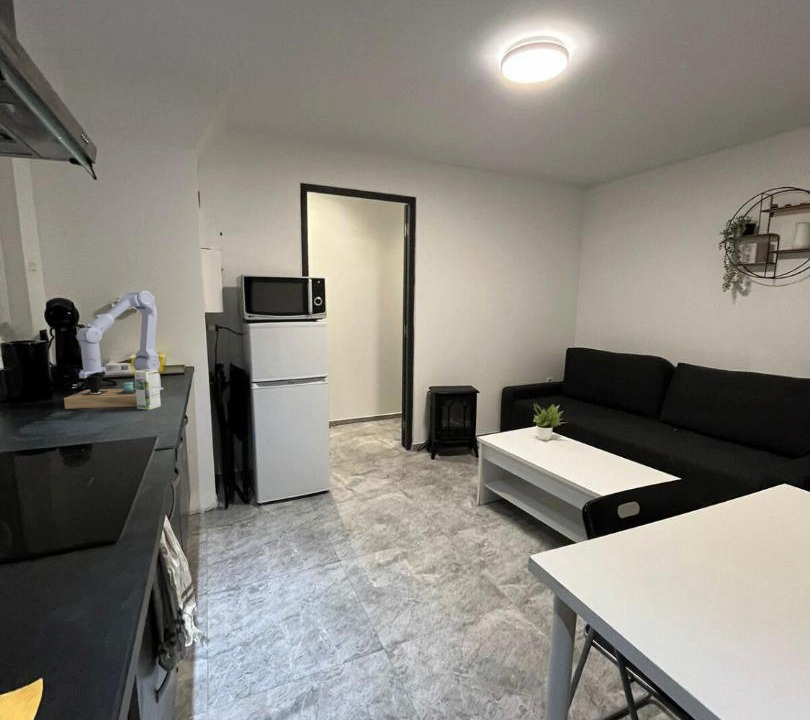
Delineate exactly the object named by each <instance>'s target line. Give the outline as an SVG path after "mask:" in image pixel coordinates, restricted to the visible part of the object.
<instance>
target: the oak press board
mask: <svg viewBox="0 0 810 720" xmlns="http://www.w3.org/2000/svg"><path fill="white" fill-rule="evenodd" d="M133 389H134V392H129V393H124V388H115V389H114V388H112V389H110V388H108V389H106V388H105V389H100V390H99V392H100V393H96V394H90V393H91V391H90V389H84V390H81V391H79V392H77V393H74V394H72V395H69V396H67V397H64V398H63V400H64V401H63V402H64V408H65V409H67V410H68V409H70V410H71V409H90V408H91V409H96V408H121V407H122V408H124V407H137V398H136V388H133Z"/></svg>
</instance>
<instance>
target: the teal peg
mask: <svg viewBox="0 0 810 720" xmlns="http://www.w3.org/2000/svg"><path fill="white" fill-rule="evenodd" d="M122 385H123V389H124V393H129V392H134V389H135V388H134V381H125V382H123V383H122Z"/></svg>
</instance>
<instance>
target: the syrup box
mask: <svg viewBox="0 0 810 720" xmlns="http://www.w3.org/2000/svg"><path fill="white" fill-rule="evenodd" d="M133 373H134V384H135V389H136V398H137V406H136V409H137V410H146V411H150V410H153V409H156V408H160V407H161V406H162V404H161V403H162V402H161V390H160V388H159V375H158V373H159V369H158V370H148V369H144V370H138V371H137V370H135V371H134V372H133Z"/></svg>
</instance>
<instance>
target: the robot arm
mask: <svg viewBox="0 0 810 720" xmlns="http://www.w3.org/2000/svg"><path fill="white" fill-rule="evenodd" d="M155 299H156V297H155V296H154V295H153V294H152V293H151V292H149V291H147V290H143V291H142V290H141V291H140V290H137V291H135V290H130V291H127V292H126V293H125V294H124V295H122V296H121V298H120V299H119V300H118V301H117V302H116V303H115V305H114V306H112V307H111V308H110V309H109V310H108V311H107V312H106V313H100V314H97V315H95V318H94V319H92V321H90V322H89V323H87V324H86V325H85V326H86V327H82V328H80V329H79V330H78V331H77V333H76V335H75V338H76V340H77V341H78V342H79V344H80V345H79V346H80V350H81V351H80V353H81V360H82V368H83V369H80V370H79V372H78V376H79V377H78V378H79V379H82V380H84V381H85V383H86V385H87V387H88V388H89V389H88V390H90V391H91V393H98V392H99V390H101V384H102V380H103V379H104V376H105V373H104V372H107V369H106V366H102V359H101V352H100V351H101V349H100V341H101V340H103V339H102V338H103V334H105V333H106V332H107V331H108V330H110V328H111V327H113V326H114V325H115V320H116V319H118V317H119V316H120V315H122V314H123V313H124V312H125V311H127V310H128V309H130V308H134V309H137V311H139V313H141V329H140V343H139V350H138V351H137V352H136V353H135V357H134V359H133V362H132V366H133V368H134V369H135V371H138V370H144V369H148V370H158V371H159V369H160V366H161V362H160V360H159V359H160V358H159V354H158V353H157V352H156V350H155V347H156V334H157V321H158V309H157V306H156V303H155ZM158 375H159V388H160V391H162V390H164V387H162V385H161V383H162V382H161V374H160V373H159V372H158Z"/></svg>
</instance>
